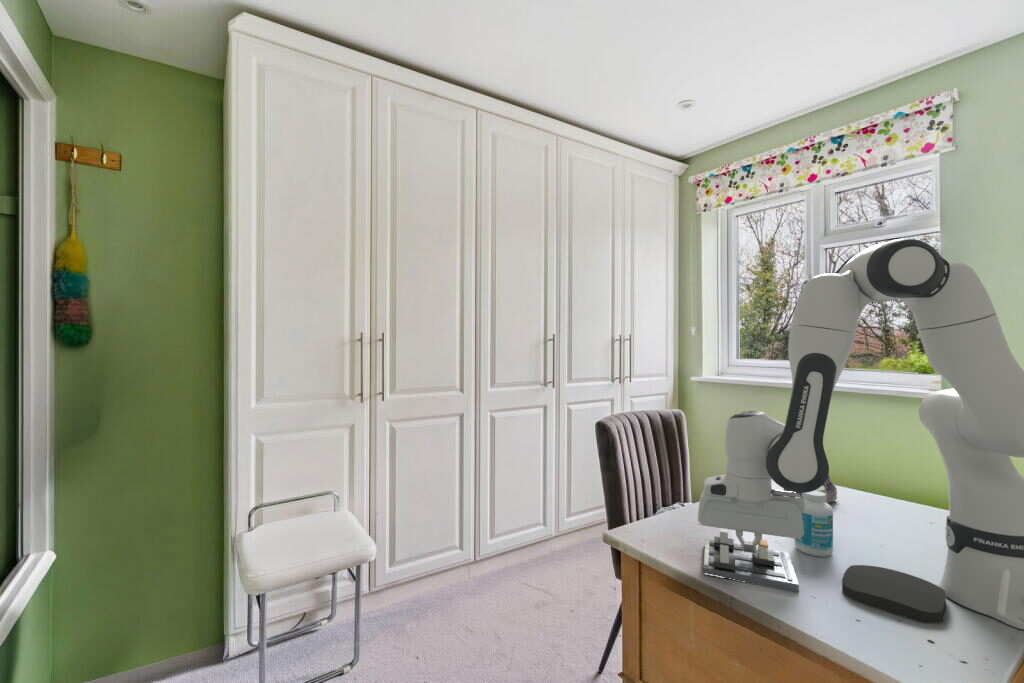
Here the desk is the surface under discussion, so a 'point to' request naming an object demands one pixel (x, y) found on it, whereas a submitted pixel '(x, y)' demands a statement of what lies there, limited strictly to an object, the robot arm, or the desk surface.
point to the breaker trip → (763, 554)
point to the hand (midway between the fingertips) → (748, 551)
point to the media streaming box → (895, 593)
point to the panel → (753, 568)
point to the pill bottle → (816, 526)
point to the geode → (828, 490)
